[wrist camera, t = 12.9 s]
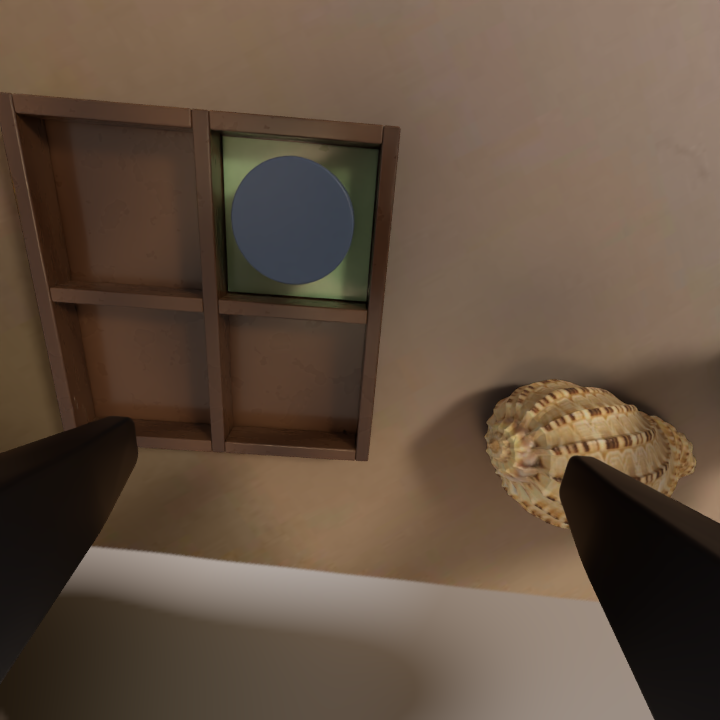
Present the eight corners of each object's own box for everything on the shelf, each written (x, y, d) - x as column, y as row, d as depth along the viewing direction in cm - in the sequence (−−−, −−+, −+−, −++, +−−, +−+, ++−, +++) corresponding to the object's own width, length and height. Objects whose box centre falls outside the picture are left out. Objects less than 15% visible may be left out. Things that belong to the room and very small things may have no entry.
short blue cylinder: (358, 164, 16) (358, 161, 14) (350, 279, 18) (349, 289, 16) (243, 155, 16) (228, 150, 14) (245, 271, 18) (232, 280, 16)
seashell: (613, 338, 22) (460, 381, 19) (750, 377, 17) (578, 447, 14) (593, 461, 25) (456, 520, 22) (706, 525, 20) (553, 618, 16)
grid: (396, 133, 16) (400, 126, 15) (367, 440, 21) (367, 462, 20) (32, 102, 16) (-9, 91, 14) (90, 422, 21) (65, 443, 19)
